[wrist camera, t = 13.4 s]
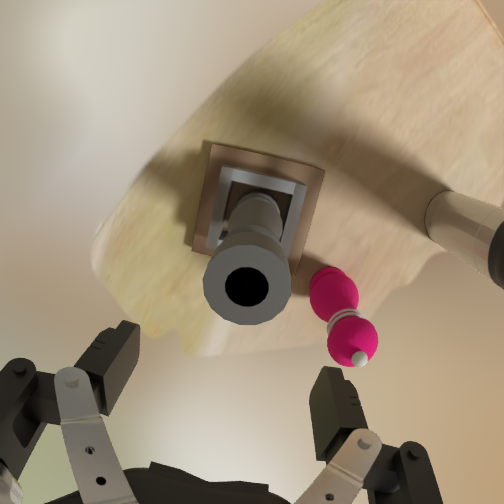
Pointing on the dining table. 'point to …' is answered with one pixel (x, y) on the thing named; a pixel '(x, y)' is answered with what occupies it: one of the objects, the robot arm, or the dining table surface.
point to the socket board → (256, 178)
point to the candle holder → (250, 264)
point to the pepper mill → (342, 318)
